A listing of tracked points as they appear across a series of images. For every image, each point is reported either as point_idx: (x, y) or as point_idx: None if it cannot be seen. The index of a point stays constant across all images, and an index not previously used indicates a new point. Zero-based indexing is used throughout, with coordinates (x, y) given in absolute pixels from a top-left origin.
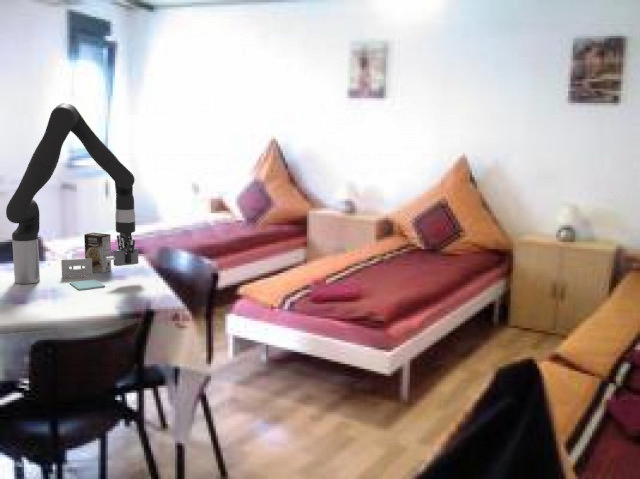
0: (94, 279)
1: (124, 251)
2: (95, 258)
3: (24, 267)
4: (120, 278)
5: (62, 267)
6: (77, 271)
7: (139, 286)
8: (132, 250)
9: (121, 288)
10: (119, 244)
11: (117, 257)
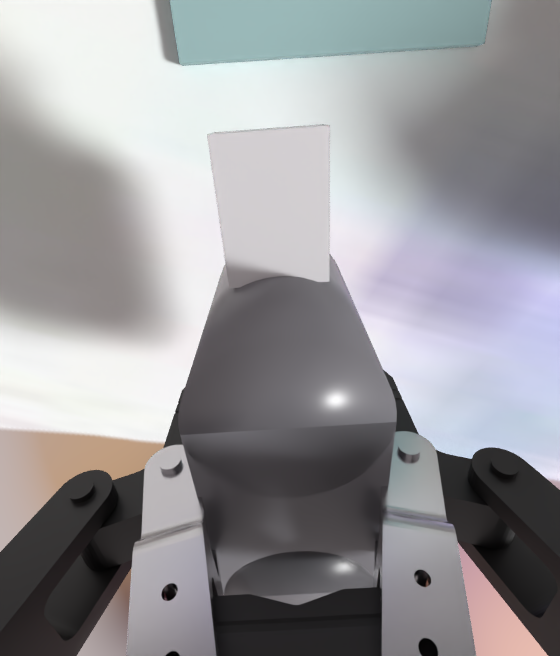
0: (479, 36)
1: (200, 478)
2: None
3: None
4: (414, 279)
5: None
6: None
7: (118, 325)
8: (71, 576)
9: (90, 195)
10: (445, 558)
11: (209, 316)
